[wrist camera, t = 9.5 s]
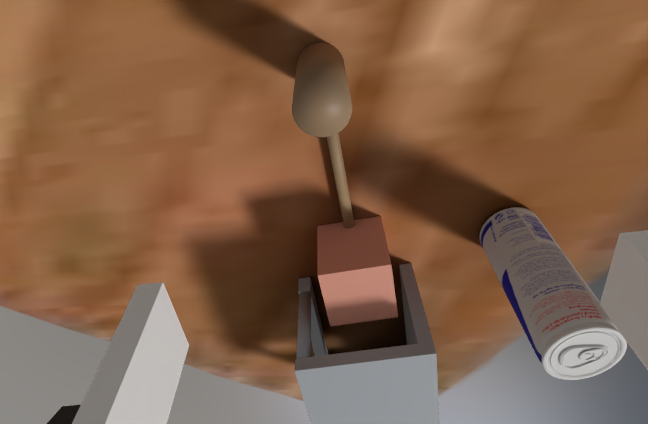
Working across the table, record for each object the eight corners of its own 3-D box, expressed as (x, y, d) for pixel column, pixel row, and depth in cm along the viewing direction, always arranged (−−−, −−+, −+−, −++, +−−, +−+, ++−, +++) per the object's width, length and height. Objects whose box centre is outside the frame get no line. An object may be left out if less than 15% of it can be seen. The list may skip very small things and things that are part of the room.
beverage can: (465, 234, 44) (525, 363, 32) (510, 193, 42) (595, 315, 29) (504, 261, 46) (576, 392, 33) (550, 223, 44) (645, 350, 31)
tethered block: (276, 50, 34) (266, 89, 27) (355, 34, 34) (368, 70, 26) (328, 274, 47) (330, 344, 39) (387, 265, 46) (401, 334, 39)
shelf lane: (298, 278, 47) (294, 370, 37) (411, 263, 46) (436, 353, 37) (322, 373, 55) (324, 468, 46) (419, 361, 54) (441, 456, 45)
